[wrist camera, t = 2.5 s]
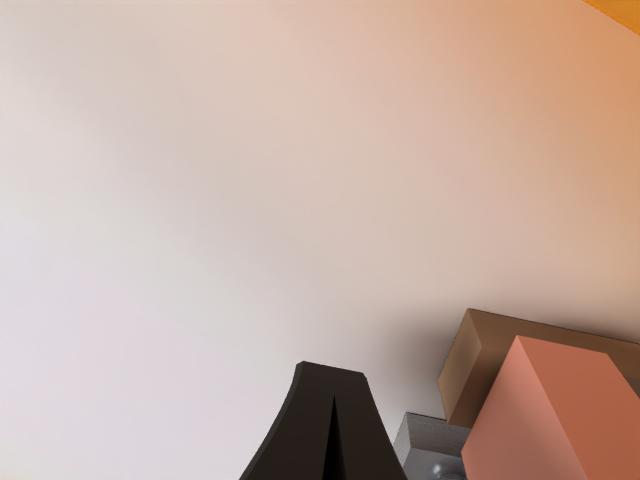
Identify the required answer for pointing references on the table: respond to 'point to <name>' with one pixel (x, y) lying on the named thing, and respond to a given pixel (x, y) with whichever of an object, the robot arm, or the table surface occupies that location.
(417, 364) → the table surface
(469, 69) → the table surface
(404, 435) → the strip
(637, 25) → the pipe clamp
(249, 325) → the table surface
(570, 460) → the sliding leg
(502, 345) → the trammel bar
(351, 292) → the table surface
